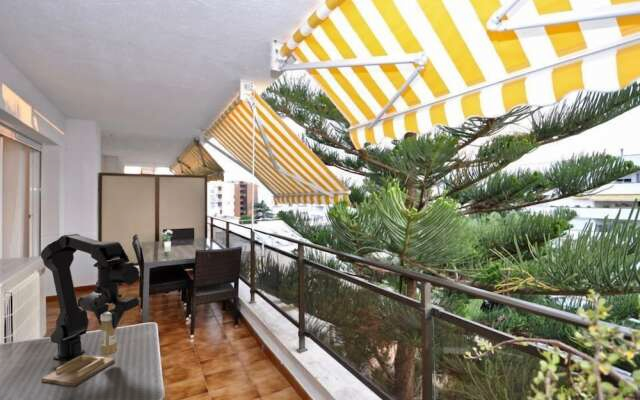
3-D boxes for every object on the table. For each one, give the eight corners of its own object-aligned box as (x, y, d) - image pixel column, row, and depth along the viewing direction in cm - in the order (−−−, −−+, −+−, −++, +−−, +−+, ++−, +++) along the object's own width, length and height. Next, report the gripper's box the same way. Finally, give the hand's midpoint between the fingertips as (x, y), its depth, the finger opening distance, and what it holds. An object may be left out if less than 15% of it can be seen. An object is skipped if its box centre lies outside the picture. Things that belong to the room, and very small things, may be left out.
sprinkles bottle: (117, 354, 102) (117, 313, 102) (100, 358, 100) (100, 316, 99) (117, 348, 106) (116, 309, 106) (100, 351, 103) (100, 312, 103)
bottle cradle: (41, 381, 94) (41, 373, 94) (85, 357, 108) (85, 350, 108) (73, 386, 91) (73, 378, 91) (114, 361, 105) (114, 354, 105)
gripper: (60, 285, 96) (61, 335, 96) (111, 290, 92) (111, 342, 93) (93, 276, 107) (93, 321, 107) (140, 280, 103) (140, 326, 104)
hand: (108, 327), depth 102 cm, fingers closed on sprinkles bottle, 4 cm apart
